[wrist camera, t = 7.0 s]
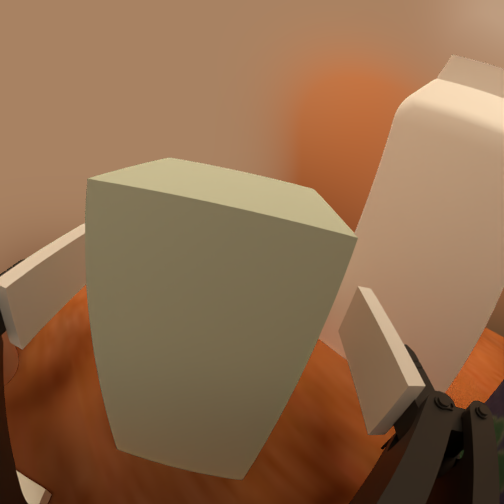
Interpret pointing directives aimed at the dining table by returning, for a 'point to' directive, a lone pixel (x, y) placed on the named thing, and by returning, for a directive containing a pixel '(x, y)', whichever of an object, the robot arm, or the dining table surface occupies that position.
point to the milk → (435, 220)
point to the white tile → (33, 491)
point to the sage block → (205, 305)
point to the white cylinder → (9, 359)
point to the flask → (498, 431)
